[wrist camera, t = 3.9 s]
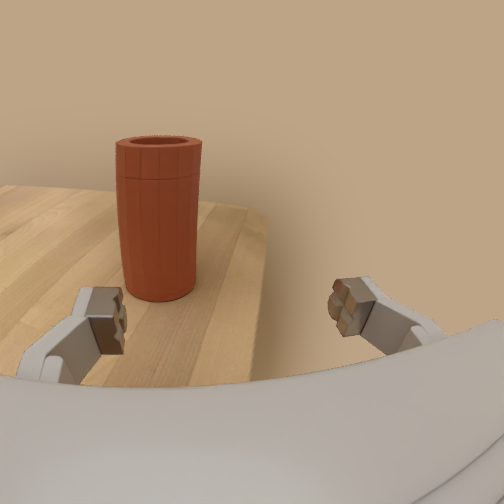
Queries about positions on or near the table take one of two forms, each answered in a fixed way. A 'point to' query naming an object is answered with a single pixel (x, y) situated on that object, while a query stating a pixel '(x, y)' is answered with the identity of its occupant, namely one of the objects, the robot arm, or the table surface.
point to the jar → (158, 214)
